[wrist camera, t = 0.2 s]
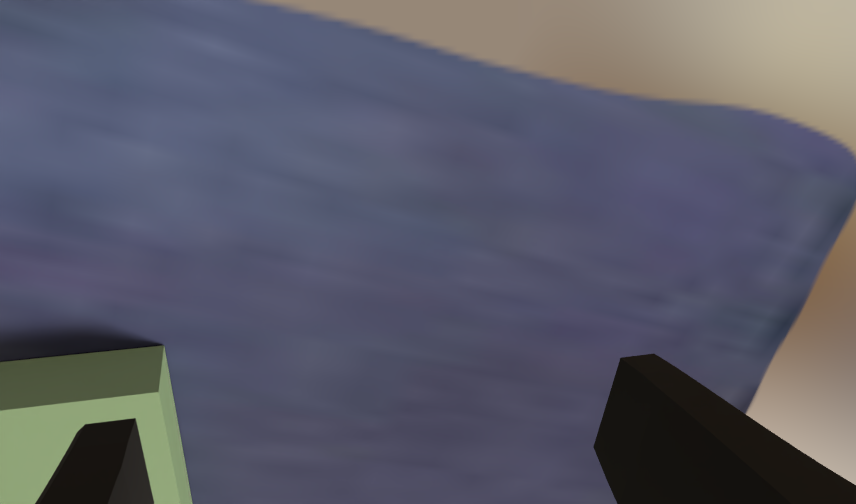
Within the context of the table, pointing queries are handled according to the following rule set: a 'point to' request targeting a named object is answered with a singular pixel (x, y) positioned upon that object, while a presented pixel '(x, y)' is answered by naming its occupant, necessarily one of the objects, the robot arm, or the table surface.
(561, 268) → the table surface
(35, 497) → the putting mat
